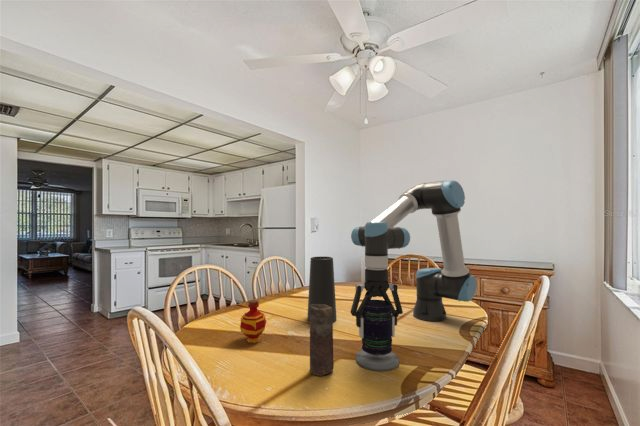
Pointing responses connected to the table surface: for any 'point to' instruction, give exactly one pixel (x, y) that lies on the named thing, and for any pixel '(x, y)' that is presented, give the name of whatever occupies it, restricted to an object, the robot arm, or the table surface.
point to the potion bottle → (253, 322)
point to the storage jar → (377, 328)
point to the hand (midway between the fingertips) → (376, 336)
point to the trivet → (377, 361)
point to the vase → (322, 284)
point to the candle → (321, 339)
